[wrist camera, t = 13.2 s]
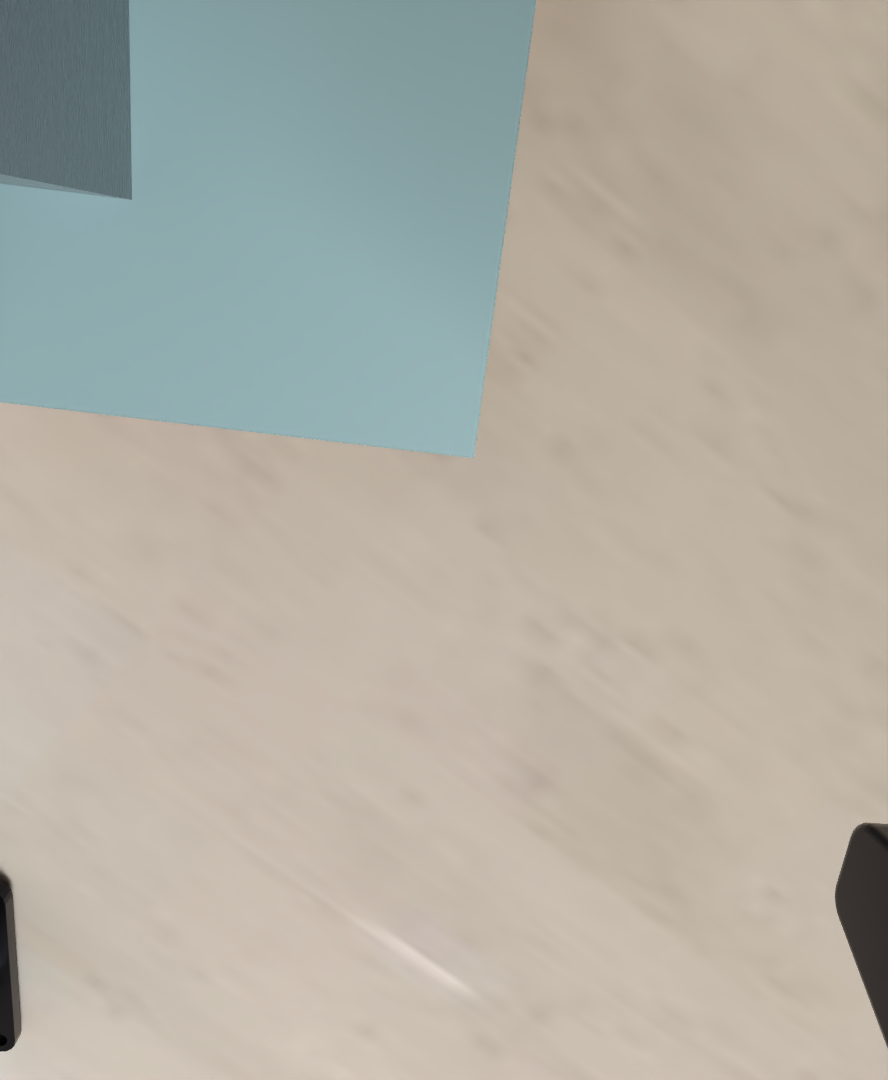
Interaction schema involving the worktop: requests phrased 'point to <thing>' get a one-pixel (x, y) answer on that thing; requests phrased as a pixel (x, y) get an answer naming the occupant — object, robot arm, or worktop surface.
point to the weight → (66, 96)
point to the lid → (283, 226)
